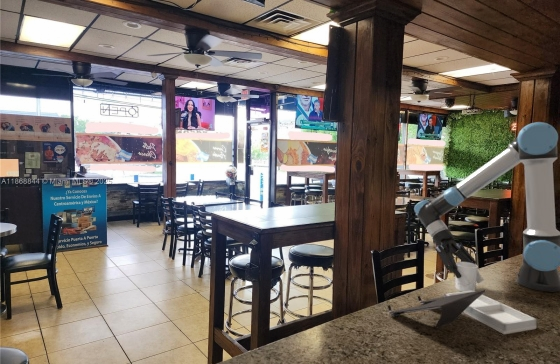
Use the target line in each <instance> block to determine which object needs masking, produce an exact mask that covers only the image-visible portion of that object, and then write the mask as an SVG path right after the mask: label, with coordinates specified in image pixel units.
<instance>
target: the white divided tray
mask: <svg viewBox="0 0 560 364" xmlns="http://www.w3.org/2000/svg"><path fill="white" fill-rule="evenodd" d="M475 291H476V290H475ZM475 291H473V290H471V291H463V292H462V291H455V292H450V293H449V292H448V293H444V295H443V297H446V296H452V295H458V294H463V293H469V292H475ZM462 313H464V314H466V315H468V316H469V317H471V318H473V319H475V320H476V321H478V322H480V323H482V324H484V325H486V326H488V327H490V328H491V329H493V330H495V331H496V332H499V333H500V334H503V335H507V334H508V335H509V334H514V333H519V332H525V331H531V330H536V329H537V323H538V322H537V321H538V319H537V318H535V317H533V316H530V315H528V314H526V313H523V312H522V311H520V310H518V309H515V308H513V307H511V306H509V305H506V304H504V303H502V302H501V301H497V300H496V299H493V298H490V297H488V296H486V295H485V294H482V295H481V296H480V297H478V298H477V299H476V300H475V301H474V302H473V303H472V304H471V305H469V306H468V307H467V308H466V309H465V310H464V311H463V312H462Z"/></svg>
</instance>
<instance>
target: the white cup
mask: <svg viewBox="0 0 560 364" xmlns="http://www.w3.org/2000/svg"><path fill="white" fill-rule="evenodd" d="M455 263H456V266H457V268H460V270H461V271H462V273H463V274H464V276H465V277H466V279H467V280H468V282H469V284H468V285H466V286H465V287H463V285H462V284H461V282H460V281H459V279H458V278H457V277H456V276H455V275H454V276H455V278H454V279H455V289H456V290H457V291H458V292H463V291H471V290H473V291H476V285H477V282H476V280H477V271H478V272H479V270H478V269H479V266H478V265H477V263H476V264H473V263H469V262H462V261H457V262H456V261H455Z"/></svg>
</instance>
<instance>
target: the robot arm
mask: <svg viewBox="0 0 560 364" xmlns="http://www.w3.org/2000/svg"><path fill="white" fill-rule="evenodd" d="M558 141H559V133H558V131H557V130H556V129H555V127H554V126H553V125H551V124H549V123H547V122H542V121H537V122H531V123H529V124H527V125H525V126H523V127H522V128H521V130H519V132H518V135H517V137H516V138H515V139H513V140H512V141H511V142H509V143H508V145H507V146H508V147H507V148H506V149H504V150H503V151H502V152H500V153H498V154H497V155H496V156H494V157H493V158H491V159H490V160H488V162H486V163H485V164H483V165H481V166H480V167H478V168H476V170H474V171H473V172H472V173H471V174H469V175H467V176H466V177H465V178H464V179H462V180H461V181H459V182H458V183H457V184H455V185H454V186H451V187H449V188H447V189H445V190H444V191H443V192H441V193H440V194H439V195H437V196H436V197H435V198H434V199H432V200H430V201H429V200H428V199H422V200H421V201H419V202H418V203H416V204H415V205H414V208H413V210H414V213H415V214H416V217H417V218H418V219H419V221H420V223H421V224H422V225H423V226H424V228H425V230H426V231H427V233H428V234H429V236H430V237H431V239H432V240H433V243H434V244H435V245H436V247H435V251H436V252H437V254H438V255H439V257H440V259H441V262H442V264H443V265H444V267H445V269H446V271H449V273H453V275H454V276H456V277H457V278H458V279H459V281H460V282H461V284H462V285H463V287H465V286H466V285H468V284H469V282H468V280H467V279H466V277H465V276H464V274H463V273H462V271H461V270H460V268H457V266H456V259H455V256H456V257H457V258H458V259H459V260H460V262H469V263H473V264H476V265H477V261H476V260H475V258H474V257H473V256H472V255H471V253H470V252H469V251H468V250H467V249H466V247H465V246H464V245H463V243H462V242H461V241H460V242H458V243H457V242H456V241H455V240H454V234H453V233H452V232H451V231H450V229H448V226H447V225H446V223H445V222H444V221H443V219H442V218H441V217H443V216H444V215H445V214H447V213H449V212H450V211H451V210H453V209H454V208H456V207H457V206H459V205H460V204H461V203H463V202H464V201H466V200H467V199H468V198H471V197H472V196H473V195H474V194H476V193H478V192H479V191H480V190H483V188H484V187H487V185H489V184H491V183H492V182H494V181H495V180H497V179H498V178H499V177H501V176H502V175H504V174H505V173H507V172H508V171H510V170H512V169H513V168H515V167H516V166H518V165H519V164H522V165H524V167H523V168H524V186H525V207H526V222H527V224H526V226H527V227H526V228H525V229H524V230H523V232H522V241H523V242H522V243H523V244H522V245H523V250H522V251H523V252H522V263H521V267H520V269H519V270H518V273H517V275H516V283H517V284H518V285H519V286H522V287H525V288H527V289H532V290H536V291H541V292H551V293H553V292H555V293H556V292H560V273H559V272H560V271H559V269H558V268H559V267H560V231H559V230H558V229H557V225H556V207H555V203H556V202H555V187H554V186H555V185H554V168H553V167H554V164H553V163H554V162H555V161H556V160H558ZM484 280H485V279H484V278H483V277H482V275H481V274H480V272H479V270H478V271H477V280H476V284H481V283H483V281H484Z"/></svg>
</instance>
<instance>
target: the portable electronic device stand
mask: <svg viewBox="0 0 560 364" xmlns="http://www.w3.org/2000/svg"><path fill="white" fill-rule="evenodd" d="M484 293H486V290H485V289H483V290H475V292H469V293H463V294H458V295H452V296H446V297H444V296H441V297H435V298H431V299H427V300H423V301H422V298H421V296H420V295H418V296H417V299H418V301H419V304H421V305H417V306H411V307H407V308H401V309H396V310H395V309H394V310H393V309H392V307H391V305H390V304H388V305H387V308H388V311H389V314H390V315H392V317H393V318H395V317H399V316H401V315H404V314H407V313H415V312H423V311H429V310H435V309H440V312H441V313H440V316H439V319H438V320H437V323H436V325H435V326H434V329H438V328H442V327H443V326H444V325H448V324H451V323H453V322H455V321H456V320H457V319H458V318H459V317H460V316H461V314H462V313H464V312H463V311H464V310H465V309H466V308H467V307H468V306H469V305H471V304H472V303H473V302H474V301H475V300H476V299H477V298H478V297H480V296H481V295H484Z"/></svg>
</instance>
